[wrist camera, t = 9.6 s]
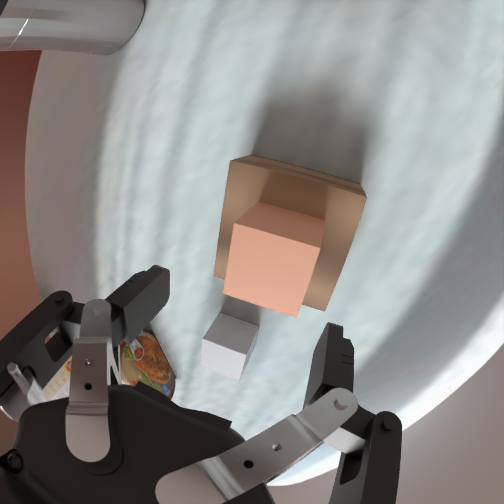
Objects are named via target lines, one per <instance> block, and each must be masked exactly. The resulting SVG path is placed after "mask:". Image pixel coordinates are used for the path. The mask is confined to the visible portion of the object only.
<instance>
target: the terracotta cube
mask: <svg viewBox="0 0 504 504" xmlns="http://www.w3.org/2000/svg"><path fill="white" fill-rule="evenodd" d="M324 224H325V220H322V219H319V218H315V217H312V216H309V215H305V214H302V213H298V212H295V211H291V210H288V209H284V208H280V207H277V206H273V205H269V204H266V203H262V202H257V203H256V204H255V205H254V206H253V207H251V208H250V209H249V210H248V211H247V212H246V213H245V214H244V215H242V216H241V217H240V218H239V219H238V220H237V221H236V222H235V223H234V226H233V233H232V239H231V245H230V252H229V258H228V265H227V271H226V278H225V284H224V291H223V294H226V295H229V296H232V297H235V298H238V299H241V300H244V301H247V302H250V303H253V304H256V305H259V306H262V307H265V308H268V309H271V310H274V311H277V312H280V313H284V314H287V315H290V316H293V317H296V318H297V316H298V313H299V310H300V307H301V305H302V302H303V299H304V296H305V293H306V290H307V288H308V285H309V282H310V279H311V276H312V273H313V270H314V267H315V264H316V261H317V258H318V255H319V252H320V248H321V243H322V236H323V230H324Z"/></svg>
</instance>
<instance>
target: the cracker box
mask: <svg viewBox="0 0 504 504" xmlns="http://www.w3.org/2000/svg"><path fill="white" fill-rule="evenodd" d="M71 361H72V356H71V357H70V358H69V359H68V360H67V361H66V362H65V364H64V365H63V366H62V367H61V368H60V369H59V371H58V372H57V373H56V374H55V375H54V377H53V378H52V379H51V380H50V381H49V383H48V384H47V385H46V386H45V388H44V389H43V390H42V398H41V400H42V402H47V401H52V400H56V399H60V398H65V397H69V389H70V372H71Z"/></svg>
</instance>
